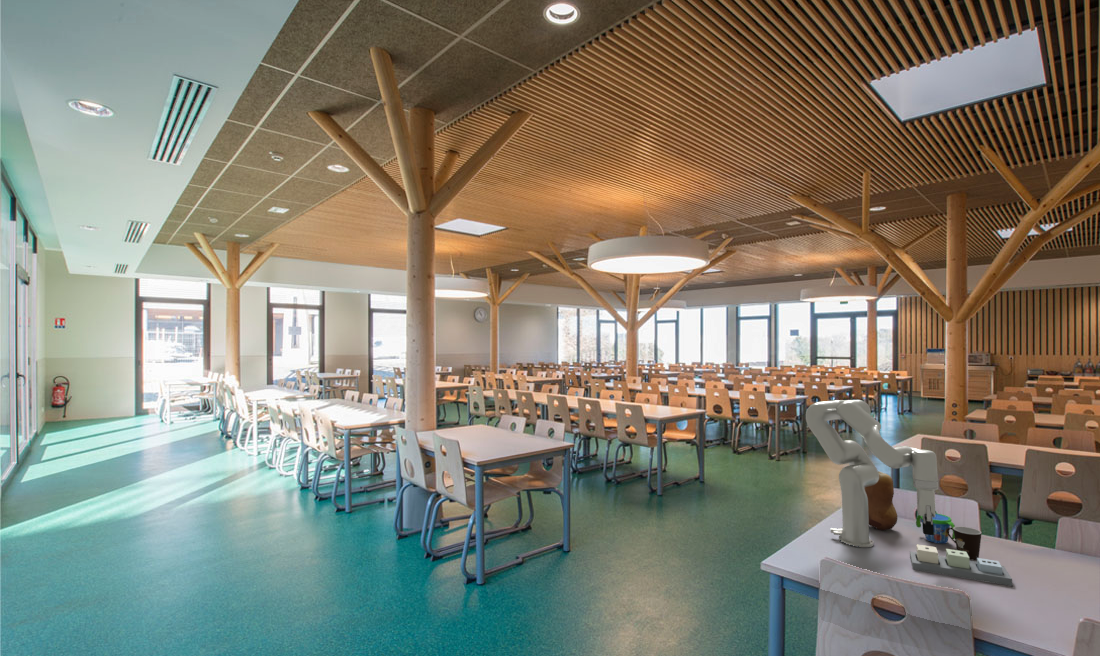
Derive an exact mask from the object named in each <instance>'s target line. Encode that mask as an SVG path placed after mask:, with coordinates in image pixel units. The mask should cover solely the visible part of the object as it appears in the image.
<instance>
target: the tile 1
mask: <svg viewBox="0 0 1100 656" xmlns="http://www.w3.org/2000/svg"><path fill="white" fill-rule="evenodd" d="M916 552H917V557H918V561H923V562H929V563H936V564H938V556H939V552H938V550H937V546H936V547H935V546H930V545H923V544H918V543H917V544H916Z"/></svg>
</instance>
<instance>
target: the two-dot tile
mask: <svg viewBox="0 0 1100 656" xmlns="http://www.w3.org/2000/svg"><path fill="white" fill-rule="evenodd" d="M945 557H946V560H947V563H948V565H949V566H954V567H960V568H966V569H970V562H969V560H970V559H969V556H968V554H967V552H965V551H958V550H957V549H950V548H945Z"/></svg>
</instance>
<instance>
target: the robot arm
mask: <svg viewBox="0 0 1100 656" xmlns="http://www.w3.org/2000/svg"><path fill="white" fill-rule="evenodd" d="M871 411H872V410H871V407H870V405H869V404H868V403H867V402H866V401H864V400H861V399H844V400H842V399H840V400H839V399H836V400H835V399H833V400H827V401H826V400H825V401H818V402H814V403H812V404H810V406H809V407H808V408H807V409H806V412H805V421H806V424H807V426H808V428H809V429H810V432H812V433H813V435H814V436H815V437H816V439H817V441H818V442H819V445H820V446H821V447H822V449H823V450H824V452H825V453H826V455H827V457H828V458H829V460H830V461H831V462H832V463H833V464H835V465H839V466H840V465H845V464H846V465H847V464H848V465H847V466H844V467H843V468H842V469H840V471H839V473H838V481H839V486H840V491H841V492H840V493H841V512H842V514H841V516H842V517H841V518H842V527H841V528H838V529H837V528H832V527H831V528H830V533H831V534H833V535H835V536H838V540H839V541H840V540H841V541H842V542H844V543H847V544H850V545H854V546H859V547H858V548H872V547H873V546H874V544H875V542H874V540H873V539H872V538H870V525H869V513H868V498H867V494H866V492H865V487H868V486H872V485H874V484H876V483H877V482H878V480H879V473H878V471H879V470H878V468H877V467H876V465H875V464H874V462H873V461H872V460H871V458H870V457H869V455H868V454H867V452H866V450H864V448H863V447H862V445H860V444H859V443H858V442H857V441H855V440H851V439H848V440H846V439H845V440H843V438H842V437H841V436H840V435H839V434H840V433H838V431H837V429H836V428H834V426H832V425H831V424H829V423H828V422H829V421H835V420H842V421H844V422H845V423H846V424H847V425H848V426H850V427H851V428H852V429H853V430H854V431H855V432H857V433H858V434H859V435H860V436H861V437H863V439H864V443H865V444H866V446H867V448H868V449H869V451H870V452H871V453H872V455H874V457H876V458H877V459H878V460H879V461H880V462H881V463H883V465H886V467H888V468H891V469H895V470H896V469H901V468H907V467H912V480H913V481H912V482H913V488H914V489H916V511H917V514H918V515H920V516H923V522H922V521H921V522H922V524H921V526H922V533H923V535H925V534H927V535H934V527H933V518H934V517H935V513H936V496H935V495H936V494H935V493H936V492H935V491H939V480H938V478H939V476H938V463H937V462H938V459H937V454H936V453H935V452H934V451H932V450H927V449H919V448H915V447H911V446H908V445H903V446H897V447H893V446H891V444H889V443H888V442H887V441H886V440H885V439H883V437H882V435H881V433H880V431H881V429H882V424H881V423H880V422H879V421H878V420H877V419H875V418H874V417H873V416H872V415H871V414H872V413H871ZM841 541H840V542H841ZM842 542H841V543H842ZM844 543H843V544H844ZM847 544H846V545H847ZM850 545H849V546H850ZM854 546H853V547H854Z"/></svg>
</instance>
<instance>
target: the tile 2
mask: <svg viewBox="0 0 1100 656" xmlns="http://www.w3.org/2000/svg"><path fill="white" fill-rule="evenodd" d="M976 562H977V568H978V570H979V571H982V572H988V573H994V574H1000V575H1003V574H1002V566H1003V565H1002V564H1001V563H1000V561H999V560H993V559H987V558H980V557H979V558H977V560H976ZM1001 565H1002V566H1001Z"/></svg>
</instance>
